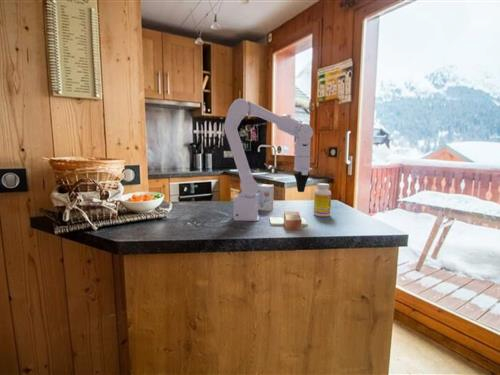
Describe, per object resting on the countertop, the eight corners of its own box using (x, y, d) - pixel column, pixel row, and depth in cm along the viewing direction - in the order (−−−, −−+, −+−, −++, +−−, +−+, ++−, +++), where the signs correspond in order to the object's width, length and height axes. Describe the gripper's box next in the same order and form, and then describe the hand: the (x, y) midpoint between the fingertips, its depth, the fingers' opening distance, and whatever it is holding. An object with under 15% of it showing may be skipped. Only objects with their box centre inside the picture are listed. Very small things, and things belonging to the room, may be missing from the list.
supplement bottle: (330, 217, 117) (332, 185, 115) (313, 216, 118) (315, 184, 116) (329, 213, 123) (331, 183, 121) (313, 212, 125) (314, 182, 123)
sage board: (270, 225, 104) (270, 223, 103) (269, 219, 112) (269, 217, 112) (307, 226, 103) (307, 224, 103) (303, 219, 112) (303, 217, 112)
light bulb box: (246, 209, 129) (246, 184, 128) (250, 206, 135) (251, 183, 134) (270, 211, 126) (270, 186, 124) (273, 208, 132) (274, 184, 131)
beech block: (283, 220, 106) (286, 229, 99) (284, 211, 105) (286, 220, 98) (297, 220, 106) (300, 229, 99) (298, 211, 105) (301, 220, 98)
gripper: (317, 157, 104) (315, 195, 106) (309, 155, 118) (307, 189, 120) (297, 157, 104) (295, 194, 106) (291, 155, 118) (290, 188, 120)
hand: (300, 191), depth 113 cm, fingers closed
